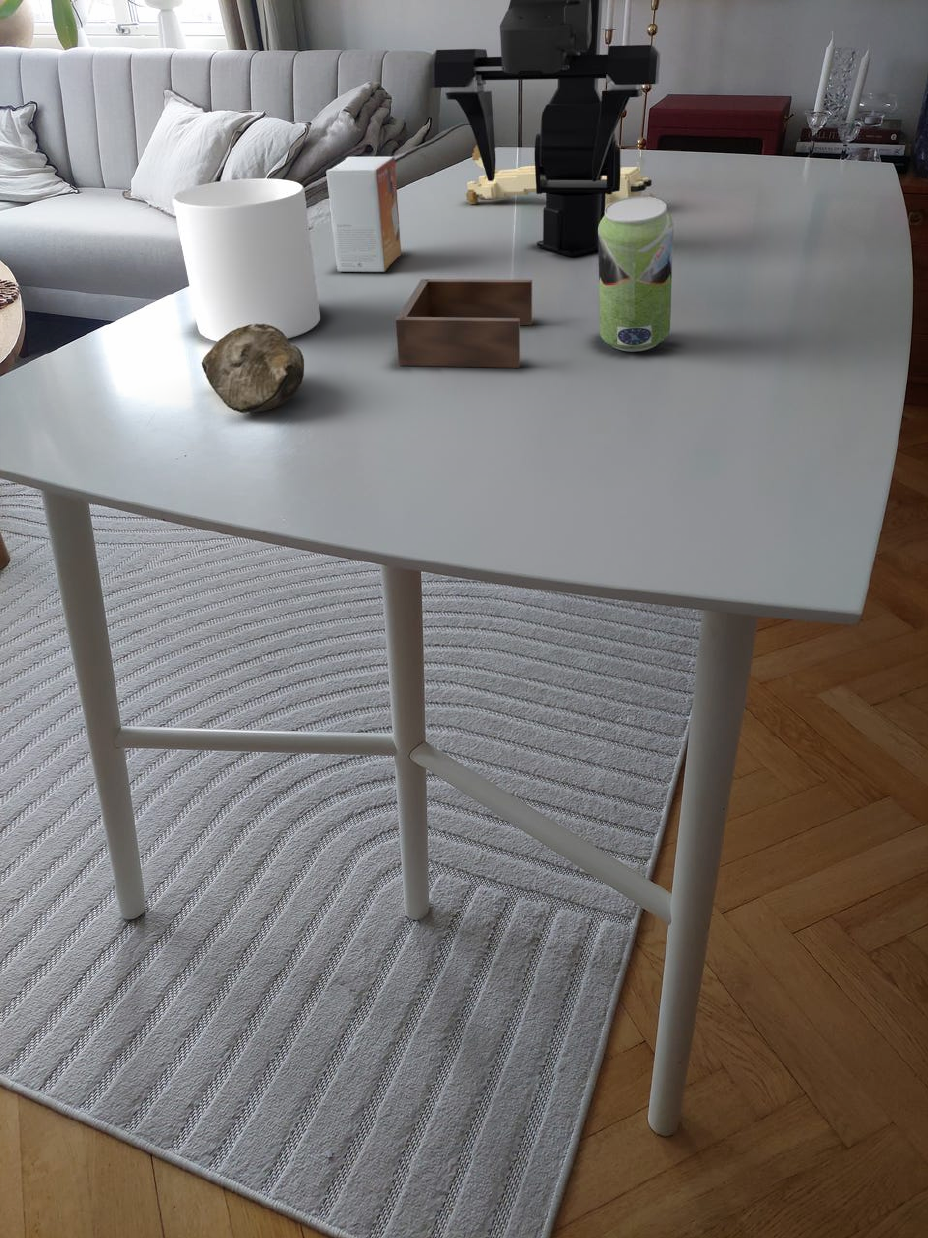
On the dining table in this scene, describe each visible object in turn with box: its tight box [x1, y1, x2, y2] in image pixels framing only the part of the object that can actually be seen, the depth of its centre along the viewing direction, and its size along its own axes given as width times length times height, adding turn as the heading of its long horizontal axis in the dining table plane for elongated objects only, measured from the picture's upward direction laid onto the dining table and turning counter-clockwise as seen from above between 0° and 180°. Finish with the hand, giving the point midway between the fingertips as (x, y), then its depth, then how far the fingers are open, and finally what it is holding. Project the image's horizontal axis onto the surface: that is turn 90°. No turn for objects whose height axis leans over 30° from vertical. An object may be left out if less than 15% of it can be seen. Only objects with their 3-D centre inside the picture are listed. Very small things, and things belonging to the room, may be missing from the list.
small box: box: [325, 156, 402, 273], centre depth 106 cm, size 8×6×10 cm
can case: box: [395, 278, 533, 369], centre depth 86 cm, size 10×12×4 cm
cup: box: [172, 177, 321, 343], centre depth 90 cm, size 12×12×12 cm
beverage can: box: [597, 196, 674, 353], centre depth 81 cm, size 6×7×12 cm
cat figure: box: [465, 144, 656, 209], centre depth 126 cm, size 10×9×25 cm
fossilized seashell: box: [201, 324, 305, 414], centre depth 77 cm, size 8×7×10 cm
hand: (542, 180), depth 85 cm, fingers open, 9 cm apart
